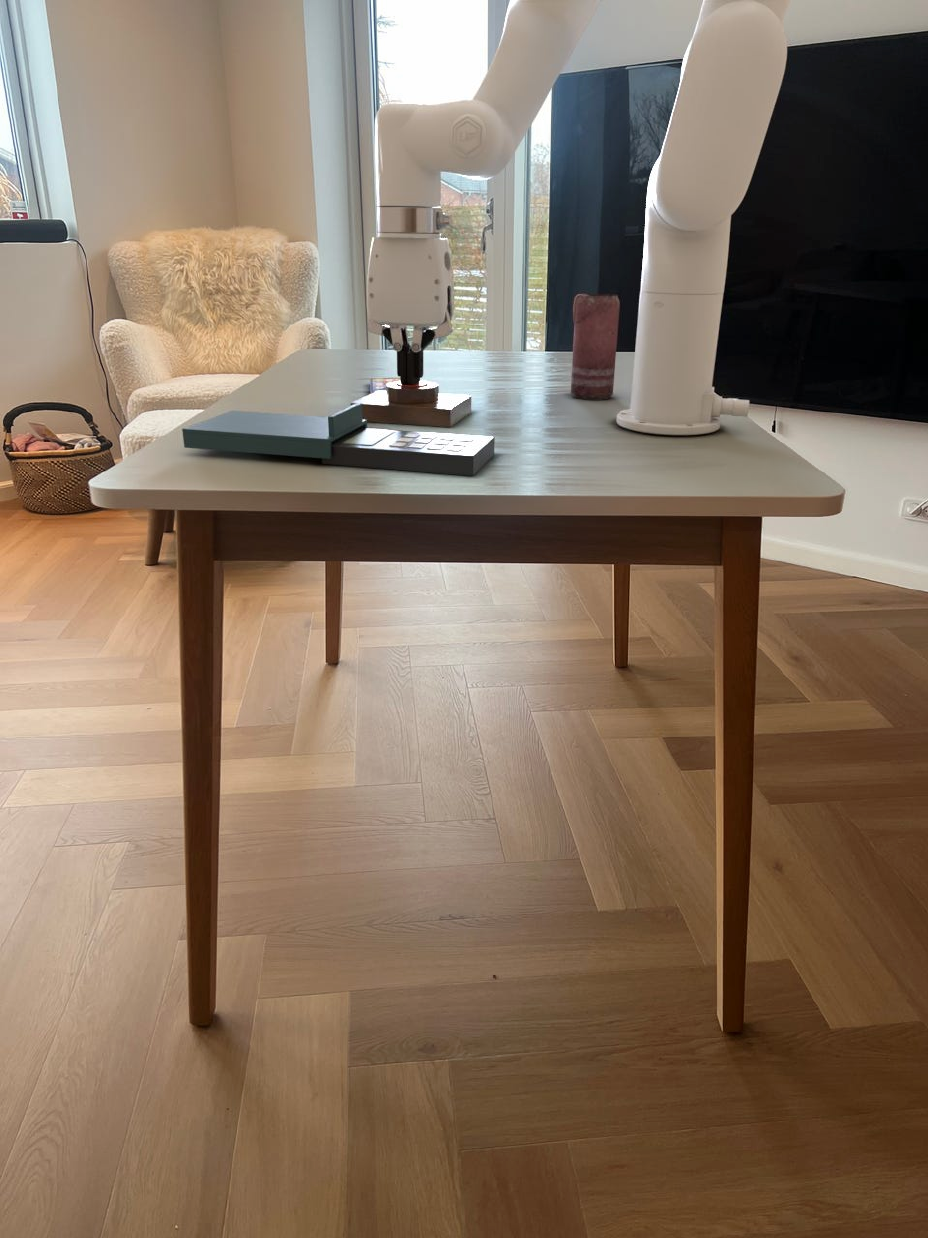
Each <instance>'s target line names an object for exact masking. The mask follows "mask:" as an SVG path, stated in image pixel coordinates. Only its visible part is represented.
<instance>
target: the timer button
mask: <svg viewBox="0 0 928 1238" xmlns="http://www.w3.org/2000/svg"><path fill="white" fill-rule="evenodd" d="M398 386H399V387H408V388H416V387H426V383H425V382H418V383H416V384H414V385H409V384H405V385H402V384H401V383H398Z"/></svg>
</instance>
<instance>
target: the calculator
mask: <svg viewBox="0 0 928 1238" xmlns="http://www.w3.org/2000/svg"><path fill="white" fill-rule="evenodd" d="M495 440H496V439H495V436H487V435H470V434H456V433H443V432H442V433H441V432H429V431H428V432H426V431H413V430H412V431H411V430H397V429H383V428H369V427H367V428H357V429H355V430H353V431H351V432H349V433H347V434H345V435H344V436H342V437H340V438H338V439H336V440H334V441H332V442H330V443H331V456H332V458H331V459H325V458H321V462H322V465H330V466H341V467H342V466H343V467H354V468H355V467H356V468H368V469H380V470H393V471H405V472H419V473H429V474H431V473H433V474H443V475H444V474H445V475H456V476H466V477H467V476H468V477H473V476H475V475H476V474H477V473H478V472H479V471H480V470H481V469H482V468H483V467H484V466H485V465H486V464H487V463H488V462H489V461H490V460H491V459H492V458H493V457H494V456H495V444H496V443H495V442H496V441H495Z"/></svg>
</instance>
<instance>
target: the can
mask: <svg viewBox="0 0 928 1238" xmlns="http://www.w3.org/2000/svg"><path fill="white" fill-rule="evenodd" d="M618 296H619V295H618V294H608V293H606V294H605V293H578V294H577V295H575V297H574V299H573V308H572V319H573V324H574V326H573V343H572V359H571V360H572V361H571V376H570V378H571V379H570V394H571V396H572V397H573V398H575V399H580V400H590V401H600V400H608V399H610V398H611V397H612V396H613V394H614V385H615V370H616V359H617V358H616V357H617V345H618V334H619V333H618V332H619V319H620V308H621V307H620V306H621V305H620V304H621V301H620V299H619V297H618Z"/></svg>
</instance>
